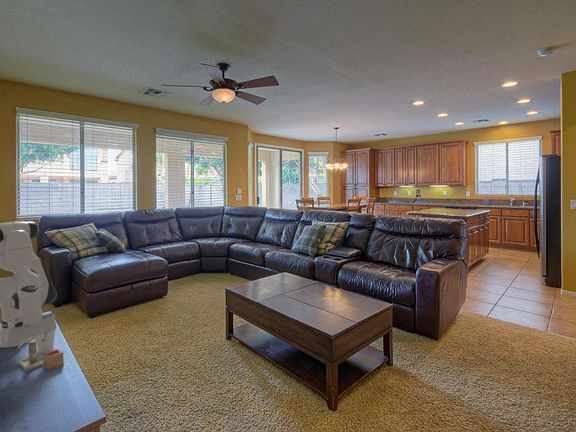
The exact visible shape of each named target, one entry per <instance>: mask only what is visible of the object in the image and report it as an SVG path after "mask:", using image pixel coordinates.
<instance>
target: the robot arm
mask: <svg viewBox="0 0 576 432" xmlns="http://www.w3.org/2000/svg"><path fill="white" fill-rule="evenodd" d="M39 231H40V229H39V226H38V224H37V223H36V222H35V221H29V220H28V221H19V220H18V221H9V222H8V221H7V222H1V223H0V269H2V270H4V271H8V272H12V273H13V275H12V276H6V277H0V310H1V319H2V320H1V321H0V322H1V323H0V324H1V325H0V326H1V327H0V349H2V348H4V349H5V348H14V347H18V350H22V349H24V345H25V344H28V342H30V341H33V339H34V338H35V336H37V335H40V334H43V333H44V336H43V337H42V338H41V339H42V340H41V341H42V342H44V341H46V337H47V335H48V332H50V331H53V330H55V329H57V322H56V319H57V318H56V314H55V313H52V312H50V313H46V314H43V309H42V306H46V305H51V304H52V303H53V302H54V301H55V300H56V299H57V290H56V289H55V287H54V284H53V282H52V280H51V278H50V274H49V271H48V269H47V267H46V264H45V262H44V260H43V259H42V258H41V257H39V256H37V255H36V254H35V252H34V248H33V243H32V240H33V239H35V238H37V237H38V235H39ZM31 270H32V271H31ZM33 271H34V272H33ZM55 331H56V330H55Z"/></svg>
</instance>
